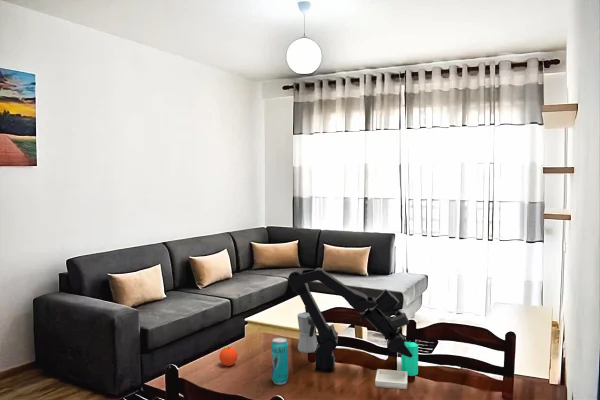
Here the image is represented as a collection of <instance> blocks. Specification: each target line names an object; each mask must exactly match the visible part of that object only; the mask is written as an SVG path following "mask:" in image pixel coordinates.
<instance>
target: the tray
mask: <svg viewBox="0 0 600 400" xmlns="http://www.w3.org/2000/svg"><path fill="white" fill-rule="evenodd" d="M408 379H409V378H408V371H401V370H394V369H393V370H392V369H384V368H383V369H382V368H381V369H380V368H377V369H376V373H375V380H374V383H375V385H374V387H375V388H385V389H386V388H387V389H396V390H397V389H398V390H408Z"/></svg>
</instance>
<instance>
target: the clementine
mask: <svg viewBox="0 0 600 400" xmlns="http://www.w3.org/2000/svg"><path fill="white" fill-rule="evenodd" d="M221 349H222V350H221V351H219V355H218V356H219V361H220V363H221V364H222V365H224V366H226V367H227V366H232V365H234V364H235V363H236V362H237V360H238V357H239V356H238V352H237V350H236V348H234V347H233V346H223V347H221Z"/></svg>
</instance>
